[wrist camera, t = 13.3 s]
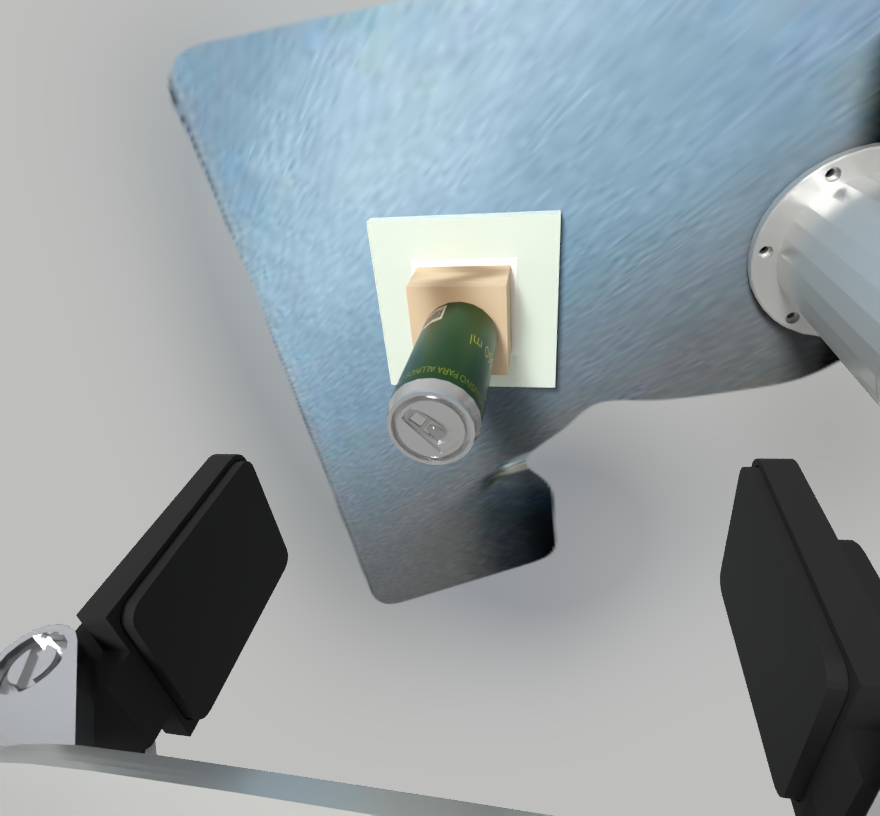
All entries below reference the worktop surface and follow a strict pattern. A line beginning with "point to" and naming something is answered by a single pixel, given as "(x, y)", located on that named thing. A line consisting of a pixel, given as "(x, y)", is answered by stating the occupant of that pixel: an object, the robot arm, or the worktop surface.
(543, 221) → the board
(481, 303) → the oak block
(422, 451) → the beer can
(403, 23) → the worktop surface
